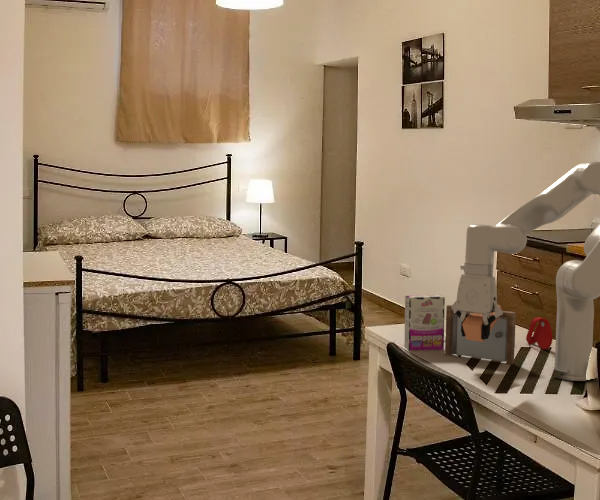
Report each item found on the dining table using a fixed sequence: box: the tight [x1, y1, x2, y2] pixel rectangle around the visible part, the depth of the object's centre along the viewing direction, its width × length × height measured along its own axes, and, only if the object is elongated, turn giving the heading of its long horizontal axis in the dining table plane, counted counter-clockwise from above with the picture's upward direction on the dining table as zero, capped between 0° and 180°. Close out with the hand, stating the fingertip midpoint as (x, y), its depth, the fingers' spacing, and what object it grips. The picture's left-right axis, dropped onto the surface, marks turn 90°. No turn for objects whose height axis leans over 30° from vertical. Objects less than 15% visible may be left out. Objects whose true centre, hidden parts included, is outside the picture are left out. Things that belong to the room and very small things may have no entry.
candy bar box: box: [403, 294, 446, 351], centre depth 252 cm, size 11×5×16 cm, turn 101°
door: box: [452, 312, 508, 363], centre depth 239 cm, size 17×3×12 cm, turn 52°
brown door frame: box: [444, 304, 517, 366], centre depth 239 cm, size 20×2×14 cm, turn 52°
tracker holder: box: [525, 316, 553, 350], centre depth 257 cm, size 12×4×10 cm, turn 16°
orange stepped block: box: [462, 304, 503, 342], centre depth 230 cm, size 5×13×6 cm
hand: (475, 336), depth 227 cm, fingers closed on orange stepped block, 5 cm apart
